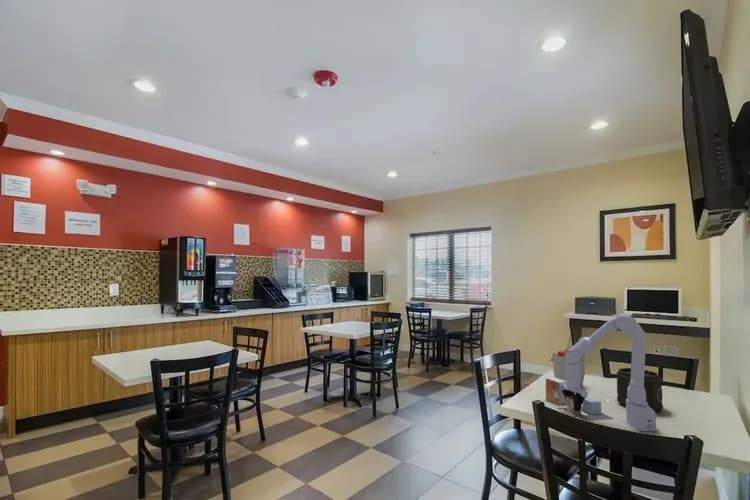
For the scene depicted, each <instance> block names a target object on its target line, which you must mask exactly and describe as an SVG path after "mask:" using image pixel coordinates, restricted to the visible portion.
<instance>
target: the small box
mask: <svg viewBox="0 0 750 500" xmlns="http://www.w3.org/2000/svg"><path fill="white" fill-rule="evenodd" d="M560 383H566V381H564V380H561V379H558V378H555V376H553V377H546V378H545V400H547V401H550V402H551V403H555V404H557V405H565V404H566V399H565V397H564V395H563V393H562V390H564V388H562V387H560ZM566 405H567V404H566Z"/></svg>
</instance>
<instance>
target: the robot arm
mask: <svg viewBox="0 0 750 500" xmlns="http://www.w3.org/2000/svg"><path fill="white" fill-rule="evenodd" d="M618 330H620V331H622V332H624V333H626V334H627V335H628V336H629V337H630V338H631V339H632V343H631V345H632V346H631V363H630V364H631V367H630V368H631V381H630V385H629V386H628V388H627V391H628V392H627V398H628V399H626V407H625V411H626V412H625V413H626V420H621V423H623V424H625V425H628V426H630V427H632V428H634V429H636V430H638V431H639V432H649V431H650V432H651V431H658V430H659V429H658V428H657V418H656V417H657V416H656V414H657V413H655V411H654V410H653V409H652V408H650V407H649V406H648V402H646V390H645V388H644V370H646V368H645V366H646V365H645V364H646V363H645V362H646V347H647V346H646V345H647V344H646V343H647V335H646V333H645V331H644V330H643V328H642V327H641V326H640V324H639V322H637V320H636V318H634V317H633V316H632V315H630V314H628V313H626V312H621V313H618V314H617V315H616V317H612V318H611V319H610V320H608V321H606V322H605V323H604V324H603V325H601V326H600V327H599V328H598V329H597V330H596V331H594V332H593V333H592V334H591V335H590V336H589V337H588V336H583V337H580V338H579V339H578V341H577V342H575V344H574V345H570V348H569V350H567V352H566V353H565V359H566V383H560V387H562V388H564V390H562V393H563V395H564V397H565V399H566V397H570V396H572V398H573V401H574V409H575V411H580V410H581V407H583V405H582V403H583V401H584V399H585V398H589V397H588V396H589V395H588V393H589V392H587V391H585V390H584V389H583V388H582V386H581V374H580V361H579V360H580V359H581V357H584V356H585V357H586V355H588V354H589V353H590V352H592V351H593V350H594V349H595V348H596V343H597V342H598V341H600V340H601V339H602V338H604V337H605V336H606V335H608V334H609V333H611V332H617V331H618ZM585 357H584V358H585Z"/></svg>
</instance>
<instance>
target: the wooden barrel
mask: <svg viewBox="0 0 750 500" xmlns="http://www.w3.org/2000/svg"><path fill="white" fill-rule="evenodd" d="M615 377H616V393H617V394H616V395H617V396H616V401H617V403H619V406H622V407H623V408H626V399H628V398H627V392H628V391H627V388H628V386H629V385H630V381H631V367H621V368H618V371H616V376H615ZM662 383H663V379H662V377H661V376H660V374H659V373H658V372H655V371H651V370H648V369H644V388H645V390H646V402H648V406H649V407H650V408H652V409H653V410H654V411H655V414H657V413H661V411H662V410H663V409H664V404H663V388H662Z"/></svg>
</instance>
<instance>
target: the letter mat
mask: <svg viewBox="0 0 750 500" xmlns="http://www.w3.org/2000/svg"><path fill="white" fill-rule="evenodd" d="M556 409H557V410H558V411H560V412H563V413H564V414H566V415H568V416H570V415H571V416H574V417H578V418H580V419H583V420H587V421H586V422H588V421H589V422H590V421H603V420H604V421H605V420H606V421H607V420H615V418H614V417H611V416H609V415H608V414H605V413H603V412H601V414H589V413H587V412H585V411H583V406H581V414H572V413H570V412H568V411H567V407H557V408H556ZM571 416H570V417H571Z"/></svg>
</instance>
